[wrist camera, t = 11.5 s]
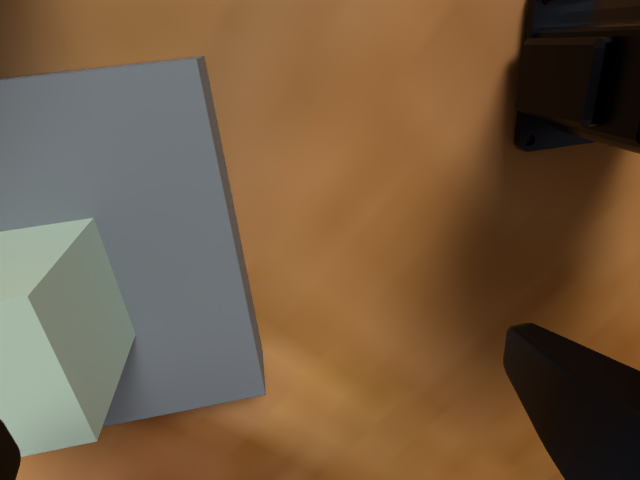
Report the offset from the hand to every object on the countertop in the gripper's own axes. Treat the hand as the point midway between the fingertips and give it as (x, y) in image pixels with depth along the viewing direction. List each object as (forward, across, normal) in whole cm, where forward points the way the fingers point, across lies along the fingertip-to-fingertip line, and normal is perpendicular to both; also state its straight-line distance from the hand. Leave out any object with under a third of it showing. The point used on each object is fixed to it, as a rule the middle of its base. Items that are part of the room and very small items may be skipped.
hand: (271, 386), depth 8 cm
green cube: (+8, +8, +2) cm, 12 cm away
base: (+12, +8, +2) cm, 14 cm away
